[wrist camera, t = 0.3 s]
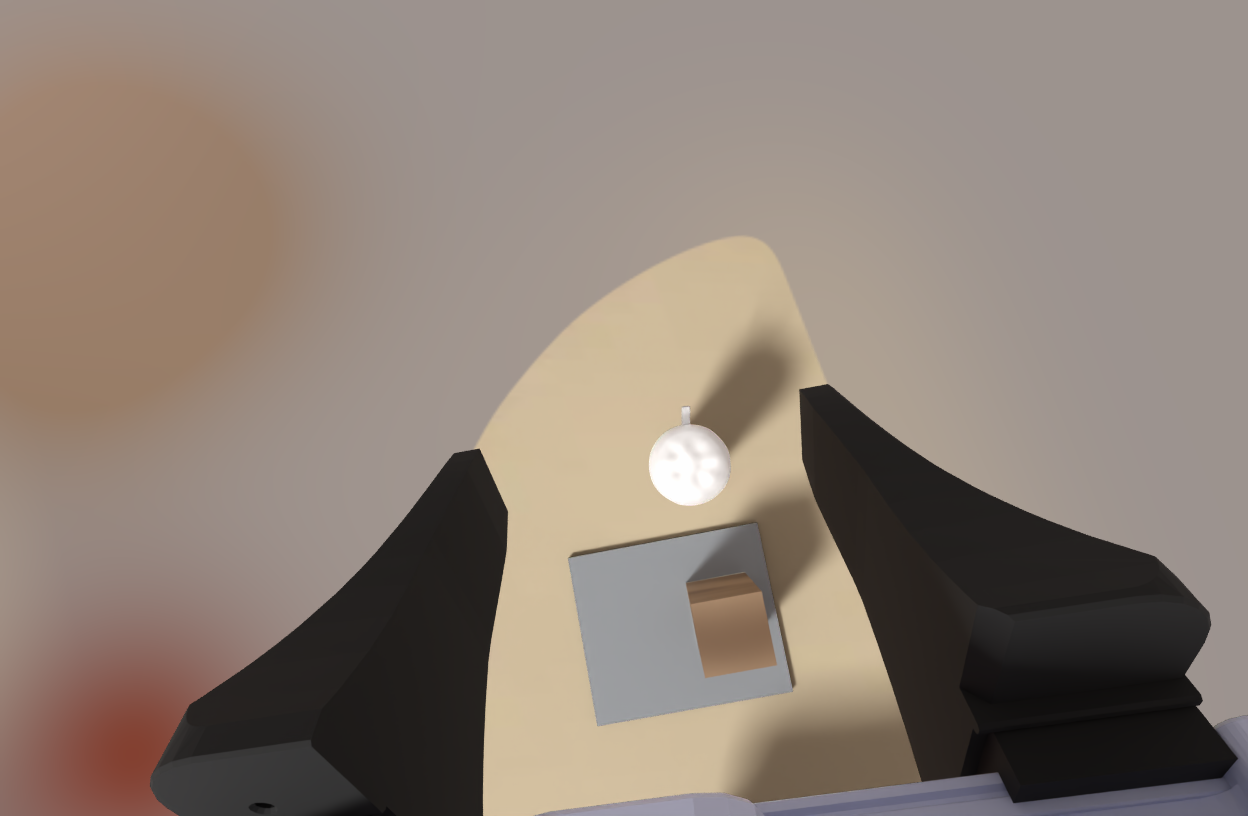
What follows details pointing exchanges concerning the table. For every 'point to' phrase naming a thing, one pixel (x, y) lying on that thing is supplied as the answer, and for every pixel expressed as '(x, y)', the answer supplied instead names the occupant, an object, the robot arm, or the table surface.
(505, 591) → the table surface
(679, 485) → the milkshake
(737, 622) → the walnut block
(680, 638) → the mat
